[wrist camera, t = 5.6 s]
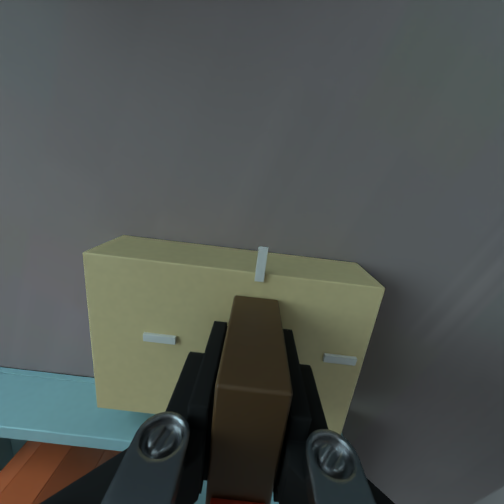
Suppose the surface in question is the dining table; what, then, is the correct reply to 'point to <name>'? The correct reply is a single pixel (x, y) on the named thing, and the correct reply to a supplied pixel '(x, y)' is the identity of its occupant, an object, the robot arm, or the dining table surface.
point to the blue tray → (62, 415)
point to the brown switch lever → (249, 405)
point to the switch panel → (218, 315)
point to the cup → (46, 470)
